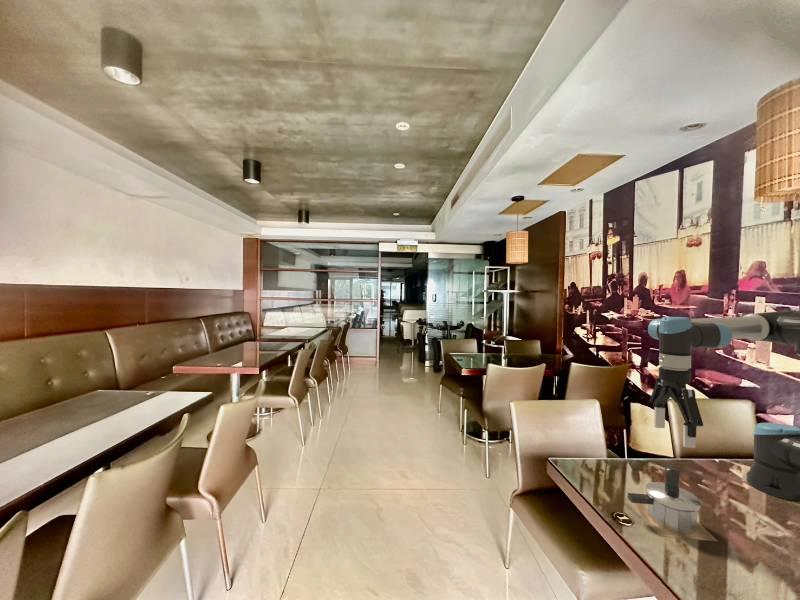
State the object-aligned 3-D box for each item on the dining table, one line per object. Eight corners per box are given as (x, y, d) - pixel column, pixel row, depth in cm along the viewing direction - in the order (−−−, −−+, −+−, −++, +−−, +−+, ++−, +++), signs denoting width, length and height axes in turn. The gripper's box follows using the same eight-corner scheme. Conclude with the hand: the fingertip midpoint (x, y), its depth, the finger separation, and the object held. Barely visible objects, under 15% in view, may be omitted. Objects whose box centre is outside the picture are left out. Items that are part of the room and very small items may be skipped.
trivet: (681, 508, 108) (681, 506, 108) (718, 543, 93) (718, 541, 93) (631, 504, 110) (631, 502, 110) (659, 537, 95) (659, 535, 95)
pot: (679, 509, 107) (679, 488, 106) (706, 536, 95) (707, 512, 95) (620, 504, 109) (620, 483, 109) (639, 529, 98) (640, 506, 98)
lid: (680, 487, 107) (681, 460, 107) (712, 514, 94) (712, 483, 94) (636, 483, 109) (637, 457, 109) (661, 509, 96) (662, 479, 96)
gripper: (637, 359, 113) (637, 420, 114) (690, 378, 89) (688, 455, 89) (662, 359, 112) (661, 421, 113) (721, 379, 88) (720, 457, 88)
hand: (673, 436), depth 101 cm, fingers open, 13 cm apart
